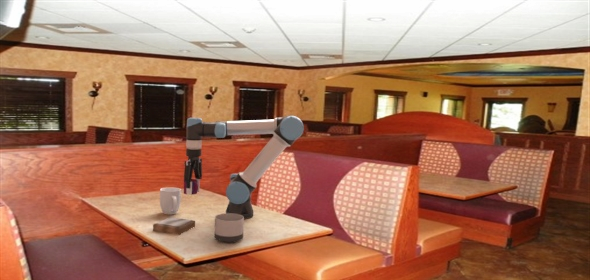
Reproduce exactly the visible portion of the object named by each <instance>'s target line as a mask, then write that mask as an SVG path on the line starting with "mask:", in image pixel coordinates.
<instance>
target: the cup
mask: <svg viewBox="0 0 590 280" xmlns="http://www.w3.org/2000/svg"><path fill="white" fill-rule="evenodd" d="M191 182H192V195H197V194H198V192H197V191H198V184H197V182H198V180H196V179H195V178H192V179H191ZM186 183H187V182H185V181H184V180H183V194H184V195H187V194H186ZM192 195H191V196H192Z"/></svg>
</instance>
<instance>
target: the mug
mask: <svg viewBox="0 0 590 280" xmlns="http://www.w3.org/2000/svg"><path fill="white" fill-rule="evenodd" d="M159 189H160V190H159V205H160V209H161V211H162V213H163V214H165V215H169V216H170V215H176V214H177V213H178V211H179V209H180V206H181V202H182V201H181V200H182V188H179V187H173V186H172V187H170V186H169V187H162V188H159Z"/></svg>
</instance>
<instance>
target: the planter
mask: <svg viewBox="0 0 590 280" xmlns="http://www.w3.org/2000/svg"><path fill="white" fill-rule="evenodd" d="M244 224H245V219H244V216H242V215H239V214H232V213H226V212H225V213H219V214H216V215H215V216H214V232H213V233H214V235H213V237H214V239H215V240H217V241H219V242H222V243H226V244H232V243H236V242H239V241H241V240H243V238H244Z"/></svg>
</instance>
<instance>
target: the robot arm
mask: <svg viewBox="0 0 590 280" xmlns="http://www.w3.org/2000/svg"><path fill="white" fill-rule="evenodd" d="M304 130H305V126H304V123H303V120H302V119H300V117H298V116H295V115H287V116H282V117H280V116H279V117H275V118H274V119H256V120H255V119H253V120H252V119H251V120H227V121H225V120H223V121H221V120H217V121H214V122H207V121H203V118H201V117H188V118H187V120H186V141H185V144H186V149H185V155H186V156H187V157H188V159H187V160H185V161H184V173H183V182H184V181H185V182H187V183H186V194H185V195H187V196H189V195H191V196H192V182H191V179H193V175H194V179H196V180H198V182H197V184H198V191H197V193H200V181H201V180H202V179H203V164H202V163H203V159H202V158H200V157H201V156H202V147H203V146H202V141H203V140H202V139H203V138H218V139H219V138H220V139H221V138H222V139H223V138H225V137H226V136H238V135H241V136H242V135H243V136H244V135H245V136H246V135H247V136H248V135H271V134H272V135H273V136H272V137H271V138H270V140H269V141H268V142H267V143H266V144H265V146H264V147H263V148H262V149H261V150H260V152H259V153H258V154H257V155H256V156H255V157H254V158H253V160H252V161H251V162H250V163H249V165H248V166H247V167H246V168H245V170H244V171H239V172H238V173H231V174H230V177H229V180H230V181H229V184H228V185H227V187H226V190H225V196H226V198H227V200H228V204H227V207H226V210H225V213H232V214H239V215H242V216H244V220H245V219H250V218H253V217H254V209H253V204H252V202H251V201H252V193H253V192H254V190H255V189H257V187H258V186H257V183H258V182H259V180H261V178H262V177H263V176H264V174H265V173H266V172H267V171H268V170H269V168H270V167H271V166H272V164H274V162H275V161H276V160H277V159H278V157H279V156H281V154H282V153H283V151H285V149H286V148H287V147H291V146H293V144H294V143H295V142H296V140H298V139H299V138H300V137H301V136H302V135H303V133H304ZM193 173H194V174H193Z"/></svg>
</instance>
